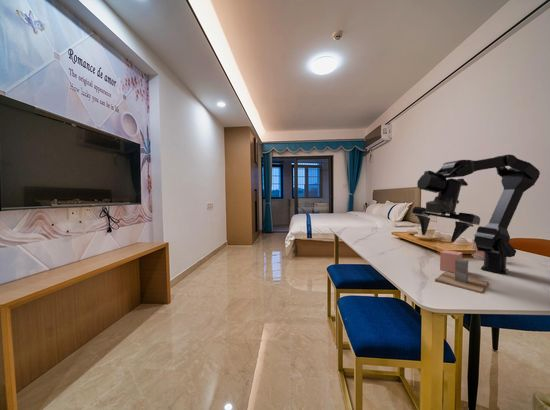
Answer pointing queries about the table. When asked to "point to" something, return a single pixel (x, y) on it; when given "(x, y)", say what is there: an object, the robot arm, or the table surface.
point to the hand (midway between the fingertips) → (437, 238)
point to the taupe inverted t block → (462, 278)
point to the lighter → (477, 252)
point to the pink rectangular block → (449, 260)
